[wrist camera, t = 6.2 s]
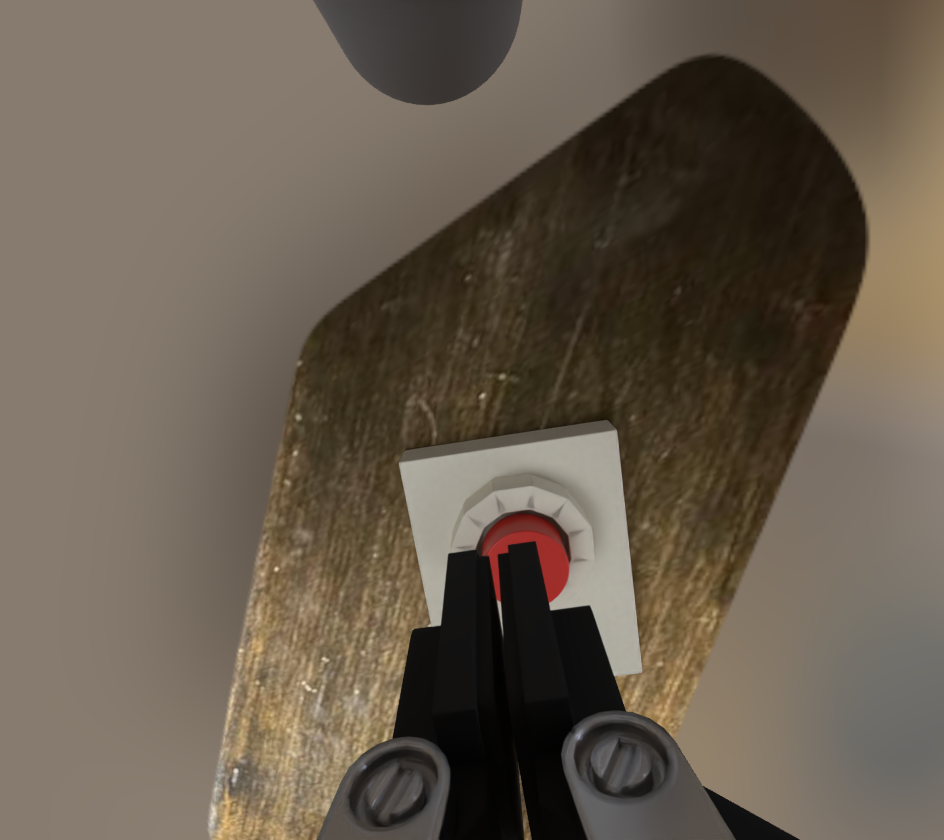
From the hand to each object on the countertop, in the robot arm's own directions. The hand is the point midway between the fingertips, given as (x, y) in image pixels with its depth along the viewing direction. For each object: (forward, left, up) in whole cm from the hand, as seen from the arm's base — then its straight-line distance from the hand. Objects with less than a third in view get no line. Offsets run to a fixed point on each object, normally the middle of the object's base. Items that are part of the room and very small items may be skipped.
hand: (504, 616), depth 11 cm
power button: (+7, +1, -16) cm, 17 cm away
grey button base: (+9, +1, -20) cm, 22 cm away
